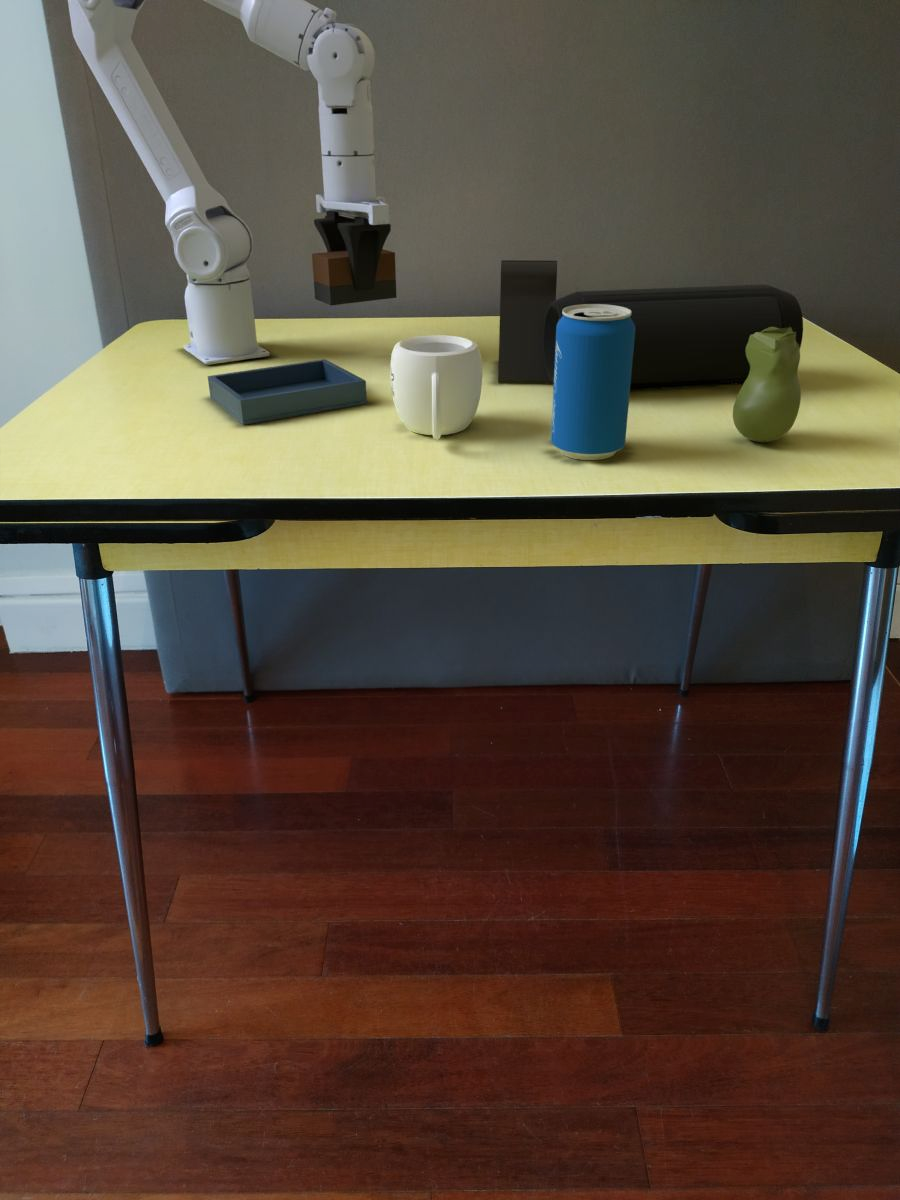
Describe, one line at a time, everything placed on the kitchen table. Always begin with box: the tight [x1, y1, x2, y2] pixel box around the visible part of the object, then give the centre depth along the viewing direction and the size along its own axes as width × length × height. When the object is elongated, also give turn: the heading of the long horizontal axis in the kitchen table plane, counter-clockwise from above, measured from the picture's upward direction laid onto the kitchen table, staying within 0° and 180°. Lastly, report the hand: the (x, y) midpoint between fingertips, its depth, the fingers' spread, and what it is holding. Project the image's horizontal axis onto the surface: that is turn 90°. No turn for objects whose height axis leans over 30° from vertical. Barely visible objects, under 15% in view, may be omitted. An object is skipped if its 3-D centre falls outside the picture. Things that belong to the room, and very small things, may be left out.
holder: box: [207, 358, 368, 426], centre depth 93 cm, size 10×13×2 cm
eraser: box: [311, 248, 397, 306], centre depth 104 cm, size 4×8×5 cm, turn 121°
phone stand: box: [497, 259, 558, 385], centre depth 100 cm, size 9×6×12 cm, turn 175°
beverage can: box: [550, 304, 635, 461], centre depth 77 cm, size 6×6×12 cm
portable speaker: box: [543, 284, 804, 391], centre depth 96 cm, size 26×10×10 cm, turn 99°
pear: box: [732, 327, 802, 443], centre depth 80 cm, size 6×5×10 cm
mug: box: [389, 334, 483, 441], centre depth 83 cm, size 12×8×8 cm
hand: (355, 285), depth 105 cm, fingers closed on eraser, 4 cm apart
